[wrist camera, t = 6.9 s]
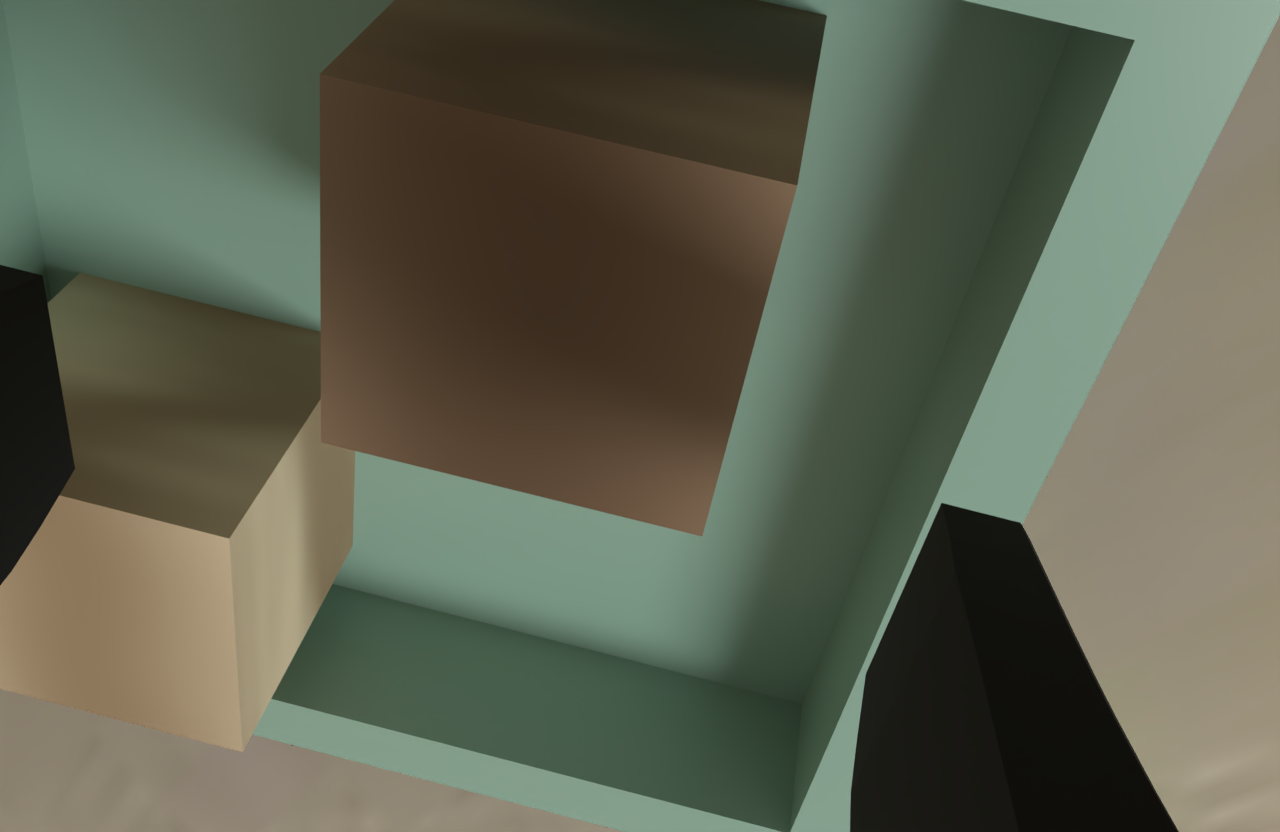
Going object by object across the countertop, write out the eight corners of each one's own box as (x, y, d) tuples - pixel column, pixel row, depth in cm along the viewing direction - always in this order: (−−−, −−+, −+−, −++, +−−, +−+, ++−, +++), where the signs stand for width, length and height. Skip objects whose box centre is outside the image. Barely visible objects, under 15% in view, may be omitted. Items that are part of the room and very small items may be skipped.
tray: (1236, -145, 12) (1313, -52, 10) (848, 727, 21) (838, 887, 18) (-123, -451, 12) (-364, -436, 10) (57, 525, 21) (-50, 655, 19)
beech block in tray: (358, 341, 17) (229, 538, 14) (353, 545, 19) (242, 752, 16) (79, 272, 17) (-110, 452, 14) (110, 484, 19) (-45, 676, 16)
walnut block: (826, 15, 13) (796, 185, 10) (746, 323, 15) (702, 536, 12) (462, -67, 13) (319, 73, 10) (440, 249, 16) (320, 442, 12)
